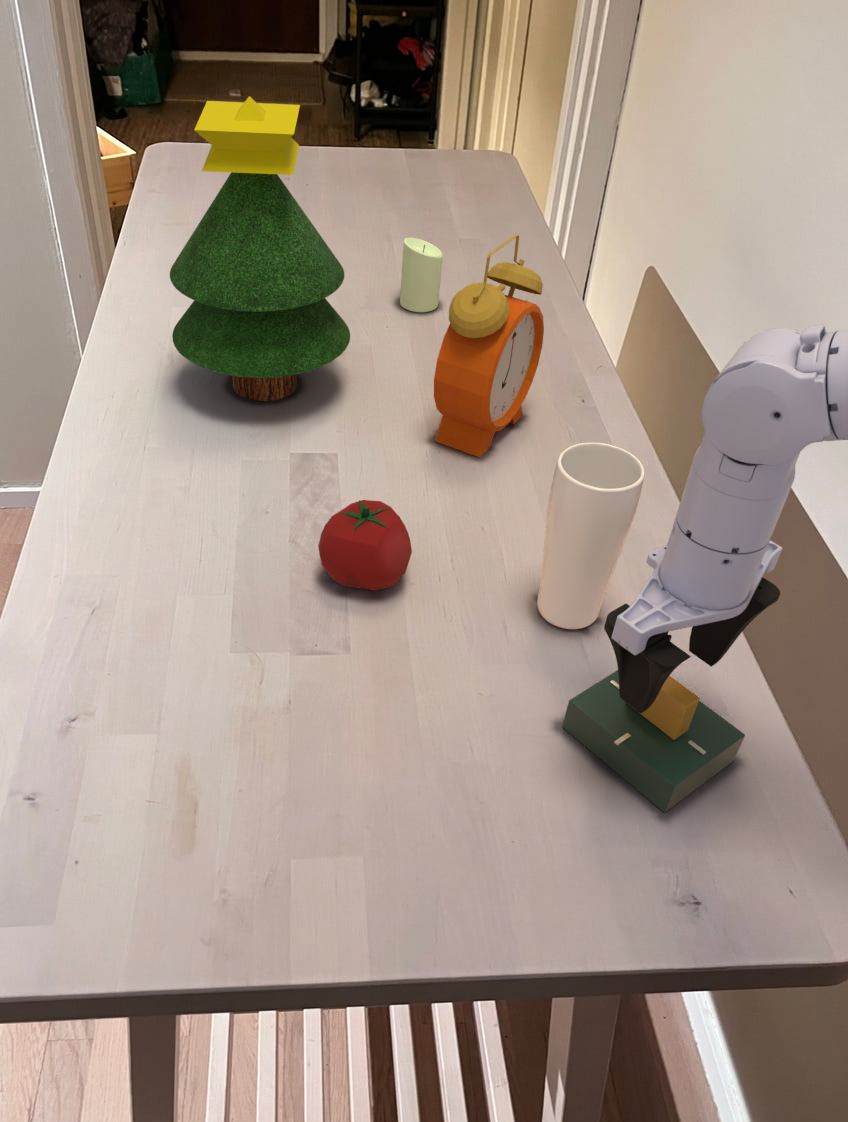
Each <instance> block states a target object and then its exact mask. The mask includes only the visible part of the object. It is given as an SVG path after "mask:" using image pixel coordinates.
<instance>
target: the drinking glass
mask: <svg viewBox="0 0 848 1122" xmlns="http://www.w3.org/2000/svg"><path fill="white" fill-rule="evenodd" d="M644 467H645V466H644V465H643V463H642V462H641V460H640V459H639V458H637V457H636V456H635V455H634V454H632V453H631V452H629V450H626V449H624V448H622V447H619V446H616V445H613V444H608V443H603V442H581V443H577V444H572V445H570V446H569V447H567V448H565V449H564V450H563V451H562V452H561V453H560V454H559V456H558V457H557V461H556V464H555V468H554V473H553V476H552V481H551V486H550V491H549V496H548V504H547V511H546V520H545V521H546V522H545V531H544V543H543V554H542V564H541V566H542V567H541V574H540V584H539V588H538V589H539V590H538V594H537V598H536V599H537V600H536V602H537V603H536V604H537V605H536V606H537V611H538V612H539V614H540V615H541V617H542V618H543V619H544V620H545V621H546V622H548V623H549V624H551V625H553V626H555V627H558V628H561V629H566V630H579V629H584V628H587V627H589V626H591V625H592V624H593V623H594V622H595V621H596V620H597V619H598V617H599V616H600V612H601V608H602V604H603V602H604V598H605V595H606V594H607V590H608V588H609V584H610V582H611V580H612V577H613V574H614V572H615V569H616V566H617V564H618V561H619V559H620V556H621V553H622V551H623V548H624V546H625V544H626V541H627V539H628V536H629V532H630V530H631V528H632V525H633V523H634V520H635V516H636V513H637V509H638V505H639V503H640V499H641V494H642V489H643V485H644V480H645V474H646V473H645V472H646V471H645V468H644Z"/></svg>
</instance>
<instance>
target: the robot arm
mask: <svg viewBox="0 0 848 1122" xmlns="http://www.w3.org/2000/svg"><path fill="white" fill-rule="evenodd" d="M701 421H702V426H703V428H704V429H703V432H702V440H701V443H700V446H698V447H697V448H696V449H697V450H696V451H695V453H694V456H693V459H692V463H691V466H690V468H689V473H688V475H687V478H686V482H685V485H684V488H683V491H682V495H681V498H680V502H679V504H678V507H677V511H676V514H675V518H674V520H673V524H672V527H671V530H670V534H669V537H668V541H667V543H666V544H663V545H660V546H658V547H656V548H655V549H653V550H651V551H649V553H648V554H647V558H646V564H647V565H648V566H650V567H651V568H653V569H654V570H653V571H652V573H651V574H650V576H649V578H647V580H646V582H645V583H644V585H643V587H642V588H641V590H640V591H639V593H638V594H637V596H636V597H635V599H634V600H633V602H632V603H631V604H630V605H629V604H628V603H623V604H622V605H619V607H617V608H615V609H613V610H612V611H610V612H609V613H608V614H607V615H606V619H605V622H604V626H603V629H604V632H605V634H606V636H607V637H608V640H609V642H610V644H611V646H612V649H613V651H614V656H615V660H616V663H617V670H618V675H619V694H620V698H621V699H623V700H624V701H625V702H626V703H628V704H629V705H630V706H631V707H633V708H634V709H635V710H637V711H638V712H639V713H643V712H644V711H646V710H647V709H648V708H649V707H650V706H651V705H652V704H653V702H654V701H655V699H656V697H657V696H658V694H659V692H660V690H661V688H662V686H663V684H664V683H665V681H666V680H667V678H668V677H669V676H671V675H672V673H673V672H674V671H675V670H676V669H677V668H678V667H679V666H680V665H682V664H683V663H684V662H685V661H687V660H688V659H690V658H691V657H692V656H691V655H690V654H688V653H687V652H686V651H684V650H683V649H681V648H680V647H679V646H678V645H676V644H675V643H674V642H672V641H671V640H672V637H673V636H672V635H671V634H669V632H672V631H677V630H682V629H686V628H691V630H690V636H689V643H688V651H689V653H691V654H693V655H694V656H695V657H697V658H698V659H700V660H701V661H702V662H703V663H705V664H706V665H707V666H709V667H711V668H712V667H713V666H715V665H716V664H718V662H720V661H721V659H722V658H723V657H724V656H725V655H726V653H727V652H728V651H729V649H730V648H731V647H732V646H733V644H735V642H736V640H737V639H738V638H739V637H740V635H741V634H742V632H743V631H744V630H745V629H746V628H747V627H748V626H749V625H750V624H751V623H752V622H753V620H754V619H756V618H757V617H758V616H759V615H760V614H761V613H762V612H763V611H765V610H766V609H768V607H770V606H772V605H773V604H775V603H776V602H778V600H779V599H780V596H781V590H780V588H779V587H778V586H777V585H776V584H775V583H773V582H771V581H770V580H768V579H766V578H765V577H764V575H766V574H769V573H771V572H772V571H774V570H775V568H776V566H777V563H778V560H779V559H780V556H781V553H782V552H783V547H782V546H780V545H779V544H777V543H775V542H774V541H772V536H773V534H774V532H775V529H776V527H777V523H778V521H779V519H780V517H781V513H782V512H783V509H784V506H785V504H786V501H787V499H788V496H789V493H790V492H791V488H792V487H793V483H794V482H795V478H796V464H797V462H798V459H799V457H800V454H801V452H802V451H803V450H804V449H805V448H806V447H808V446H809V445H811V444H815V443H823V442H836V441H838V442H839V441H848V328H845V329H838V330H830V331H827V330H826V325H824V324H817V325H810V326H806V327H805V328H804V329H803V331H802V332H801V333H798V329H794V328H787V327H778V328H777V327H776V328H769V329H765V330H762V331H760V332H758V333H756V334H754V335H752V336H750V338H749V339H748V340H747V341H746V340H745V341H744V342H743V343H742V344H741V346H740V347H739V348H738V349H737V350H736V352H735V353H734V354H733V356H731V358H730V359H729V361H728V362H727V363H726V365H725V366H724V367H723V368H722V369H721V371H720V372H719V374H718V375H716V377H715V378H714V380H713V381H712V383H711V384H710V386H709V388H708V390H707V392H706V394H705V396H704V399H703V403H702V407H701Z"/></svg>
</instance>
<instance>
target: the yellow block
mask: <svg viewBox="0 0 848 1122" xmlns="http://www.w3.org/2000/svg"><path fill="white" fill-rule="evenodd" d="M690 690H691V689H689V688H687V687H686V686H684V684H682V683H680V682H679V681H678V680H677V679H675V678H674V677H672V676H671V675H669V677H668V678H667V680H666V681H665V683H664V684H663V686H662V688H661V690H660V692H659V694H658V696H657V697H656V699H655V701H654V702H653V704H652V705H651V706H650V707H649V708H648V709H647V710H646V711H644V712H643V713H640V714H641V715H642V716H644V717H645V718H646V719H647V720H649V721H650V722H651V723H653V724H654V725H655V726H656V727H658V728H659V729H660V730H661V731H663V732H664V733H665V734H667V735H668V736H669V737H670V738H672V739H673V740H675V739H677V738H678V737H680V736H681V735H682V734H684V733H685V732H687V731H688V729H689V726H690V723H691V721H692V718H693V716H694V713H695V711H696V708H697V705H698V703H699V701H700V700H701V698H700V697H699V696H698V695H697V694H696V693H695V694H694V693H692V692H691V691H690ZM627 704H628V703H627ZM628 705H629V704H628ZM632 708H633V707H632ZM633 709H634V708H633ZM636 711H637V710H636ZM637 712H638V711H637ZM638 713H639V712H638Z"/></svg>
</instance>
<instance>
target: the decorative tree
mask: <svg viewBox="0 0 848 1122" xmlns="http://www.w3.org/2000/svg"><path fill="white" fill-rule="evenodd" d="M300 107H301V105H300V104H290V103H289V104H287V103H268V102H267V103H265V102H264V103H263V102H257V101H255V100H254V98H252V97H251V96H250V95H249V96H248V97H247V98H246V100H245V101H244V102H242V101H240V102H239V101H222V100H221V101H220V100H219V101H218V100H207V101H206V102H205V105H204V107H203V109H202V111H201V114H200V115H199V118H198V121H197V123H196V125H195V127H194V132H196V133H197V134H198V135H199V136H200V137H201V138H202V139H204V140H205V141H206V142H207V143H209V144H210V145H211V146H210V147H209V148H210V149H209V151H208V153H207V156H206V159H205V161H204V164H203V167H202V169H201V172H214V173H215V172H217V173H229V175H228V177H227V178H226V179H225V181H224V183H223V184H222V186H221V188H220V189H219V191H218V192H217V194H216V196H215V197H214V199H213V200H212V202H211V204H210V205H209V207H208V208H207V209H206V212H205V213H204V215H203V217H202V218H201V220H200V221H199V222H198V225H197V226H196V227H195V229H194V230H193V232H192V234H191V235H190V237H189V239H187V241H186V243H185V245H184V247H183V248H182V249H181V251H180V253H179V255H178V256H177V257H176V259H175V261H174V263H173V264H172V265H171V267H170V271H169V279H170V282H171V284H172V285H173V287H174V288H175V289H176V290H177V291H178V292H179V293H181V295H183V296H185V297H187V298H188V299H191V300H192V302H191V304H190V305H189V307H188V308H187V309H186V310H185V312H184V313H183V315H181V317H180V319H179V320H178V321H177V322H176V324H175V326H174V327H173V330H172V334H171V339H172V344H173V345H174V347H175V349H176V350H177V352H178V354H180V355H181V356H182V357H183V358H184V359H186V360H188V361H189V362H190V363H192V364H194V365H195V366H198V367H200V368H203V369H205V370H208V371H211V372H214V373H218V374H223V375H228V376H231V378H232V379H231V380H232V388H233V390H234V391H235V393H236V394H238V395H239V396H240V397H243V398H244V399H248V400H252V401H256V402H272V401H278V400H281V399H284V398H287V397H289V396H290V395H292V394H293V393H295V391H296V390H297V387H298V375H299V374H305V373H307V372H310V371H313V370H316V369H317V370H318V369H319V368H322V367H324V366H326V365H328V364H330V363H331V362H333V361H335V360H336V359H337V358H339V357H341V355H342V354H343V353H344V352H345V351H346V349H347V348H348V347H349V344H350V341H351V331H350V328H349V327H348V324H347V323H346V321H345V320H344V319H343V318H342V316H341V315H340V314H339V313H338V312H337V310H336V309H335V308H334V307H333V306H332V304H331V303H330V302H329V301H328V299H327V298H328V297H330V296H332V294H334V293H335V292H336V291H337V290H339V288H340V287H341V286H342V285H343V283H344V281H345V270H344V267H343V265H342V264H341V262H340V261H339V259H338V258H337V257H336V255H335V254H334V253H333V251H332V249H331V248H330V247H329V245H328V244H327V242H326V241H325V240H324V239H323V237H322V235H321V234H320V233H319V231H318V229H317V228H316V226H315V225H314V224H313V223H312V221H311V220H310V218H309V217H308V215H307V214H306V213H305V211H304V210H303V208H302V207H301V206H300V204H299V202H297V200H296V199H295V197H294V196H293V194H292V193H291V191H290V190H289V189H288V187H287V186H286V185H285V183H284V181H283V180H282V179H281V177H280V176H279V175H283V176H285V175H286V176H287V175H289V176H294V174H295V170H296V169H295V168H296V164H297V158H298V152H299V148H300V145H299V143H298V142H297V141H296V140H295V139H294V138H293V136H294V135H295V131H296V126H297V121H298V117H299V111H300Z"/></svg>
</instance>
